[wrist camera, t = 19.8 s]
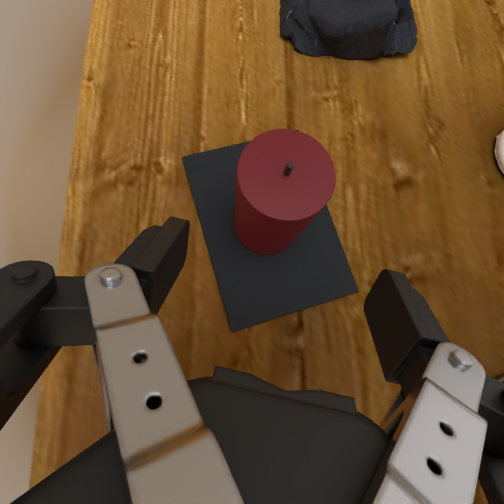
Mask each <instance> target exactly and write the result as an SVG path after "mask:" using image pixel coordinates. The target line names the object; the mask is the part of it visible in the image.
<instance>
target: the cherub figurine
mask: <svg viewBox="0 0 504 504" xmlns="http://www.w3.org/2000/svg"><path fill="white" fill-rule="evenodd" d="M496 139H497V140H496V146H495V147H496V148H495V150H494V151H495V155H496V160H497V162H498V164H499V167H500V169H501V171H502V172H503V173H504V130H503V131H502V132H501V133H500V134H499V135H498V136H497V138H496Z"/></svg>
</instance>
